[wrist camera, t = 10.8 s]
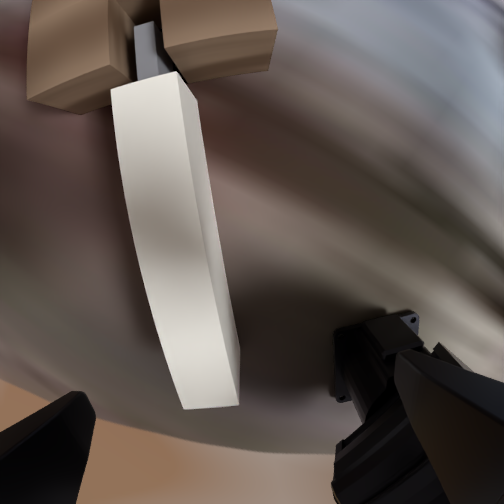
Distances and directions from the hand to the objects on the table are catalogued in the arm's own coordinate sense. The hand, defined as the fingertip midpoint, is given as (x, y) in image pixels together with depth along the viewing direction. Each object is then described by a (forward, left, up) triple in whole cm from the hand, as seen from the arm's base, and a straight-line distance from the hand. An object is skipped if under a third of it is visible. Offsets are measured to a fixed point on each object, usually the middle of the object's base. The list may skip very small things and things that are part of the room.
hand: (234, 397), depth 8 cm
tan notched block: (+17, +3, -12) cm, 21 cm away
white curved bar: (+4, +2, -12) cm, 13 cm away
